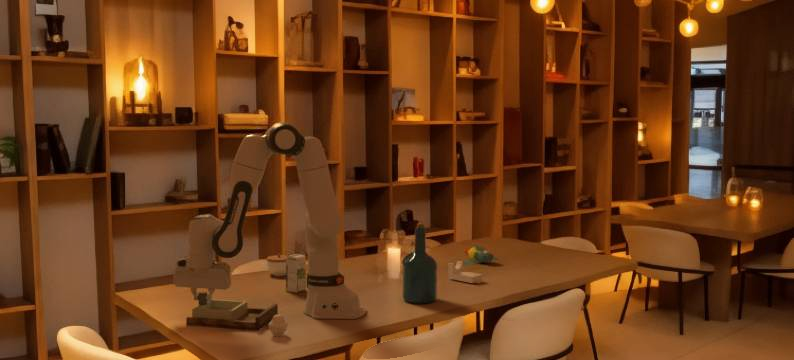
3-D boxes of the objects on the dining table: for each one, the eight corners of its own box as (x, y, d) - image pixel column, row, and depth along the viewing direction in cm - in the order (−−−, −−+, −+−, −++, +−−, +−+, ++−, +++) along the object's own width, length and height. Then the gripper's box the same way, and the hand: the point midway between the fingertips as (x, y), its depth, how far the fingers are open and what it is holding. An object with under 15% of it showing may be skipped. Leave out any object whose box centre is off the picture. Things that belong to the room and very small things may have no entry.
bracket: (448, 280, 316) (448, 263, 315) (458, 277, 321) (458, 260, 321) (472, 285, 307) (472, 267, 307) (482, 282, 313) (482, 265, 312)
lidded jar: (287, 277, 317) (287, 256, 316) (263, 276, 319) (263, 255, 318) (294, 272, 327) (294, 252, 327) (271, 271, 329) (271, 251, 328)
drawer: (247, 312, 258) (247, 290, 257) (230, 323, 244) (230, 300, 244) (208, 309, 261) (207, 287, 260) (189, 320, 247) (189, 297, 247)
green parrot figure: (487, 240, 367) (510, 245, 355) (487, 257, 368) (509, 263, 356) (447, 246, 349) (469, 252, 337) (446, 264, 350) (468, 270, 338)
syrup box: (294, 288, 298) (294, 253, 297) (306, 290, 295) (306, 255, 294) (285, 291, 293) (285, 255, 292) (297, 293, 290) (297, 257, 289)
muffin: (291, 335, 236) (291, 314, 235) (276, 339, 232) (276, 318, 231) (279, 331, 240) (279, 310, 240) (264, 335, 236) (264, 314, 235)
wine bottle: (428, 294, 290) (429, 220, 287) (442, 303, 277) (443, 225, 275) (396, 297, 285) (396, 221, 282) (409, 306, 273) (409, 227, 270)
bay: (277, 316, 258) (277, 303, 257) (258, 330, 241) (258, 317, 240) (209, 311, 263) (209, 299, 262) (186, 325, 246) (186, 312, 245)
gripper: (234, 260, 253) (234, 299, 254) (179, 257, 257) (180, 296, 258) (226, 264, 247) (226, 304, 248) (170, 261, 251) (171, 300, 252)
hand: (202, 300), depth 253 cm, fingers closed on drawer, 3 cm apart
